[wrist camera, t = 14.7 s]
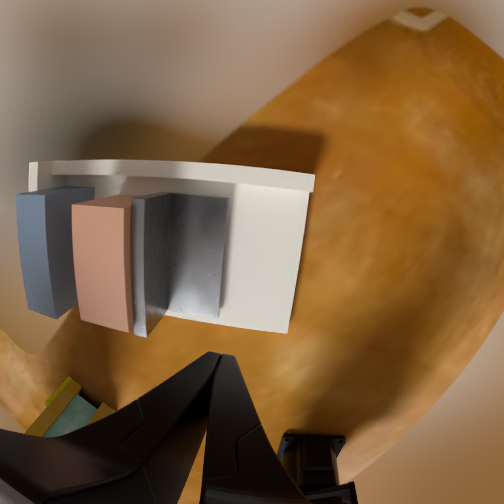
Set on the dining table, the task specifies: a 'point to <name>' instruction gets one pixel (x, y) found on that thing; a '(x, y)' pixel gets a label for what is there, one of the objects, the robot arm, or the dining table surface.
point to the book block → (103, 261)
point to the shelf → (179, 181)
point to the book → (67, 412)
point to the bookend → (176, 256)
